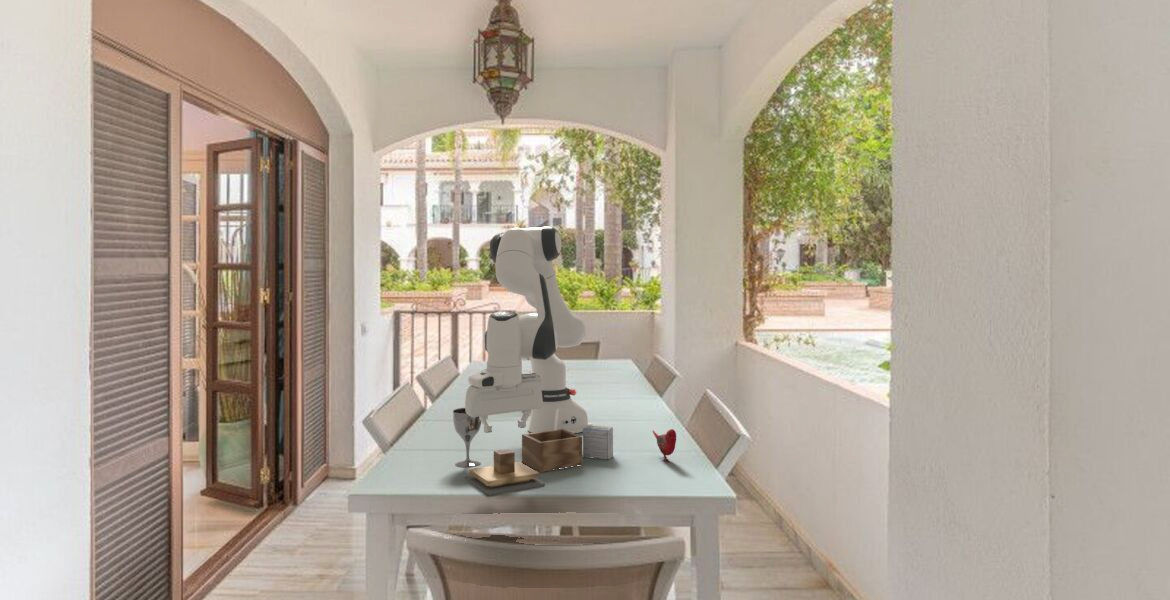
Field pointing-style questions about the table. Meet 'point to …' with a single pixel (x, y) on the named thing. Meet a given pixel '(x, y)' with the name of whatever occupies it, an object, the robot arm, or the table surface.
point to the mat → (504, 488)
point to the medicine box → (598, 442)
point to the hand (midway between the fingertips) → (505, 429)
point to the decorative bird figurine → (666, 442)
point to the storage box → (551, 450)
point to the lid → (504, 470)
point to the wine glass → (466, 433)
